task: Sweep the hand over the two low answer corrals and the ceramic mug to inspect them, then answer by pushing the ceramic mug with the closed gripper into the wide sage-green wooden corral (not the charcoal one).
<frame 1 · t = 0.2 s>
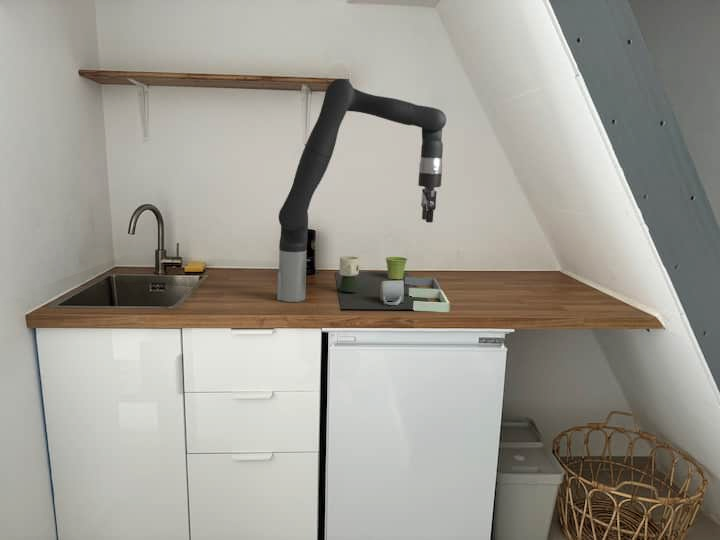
hand: (427, 220, 178), 29 cm above the counter, tool pointing down, fingers open, 8 cm apart
ceramic mug: (392, 303, 184), on the counter
character mug: (348, 292, 196), on the counter
corral charcoal: (421, 290, 204), on the counter
plant pot: (395, 279, 224), on the counter
corral green: (426, 303, 184), on the counter
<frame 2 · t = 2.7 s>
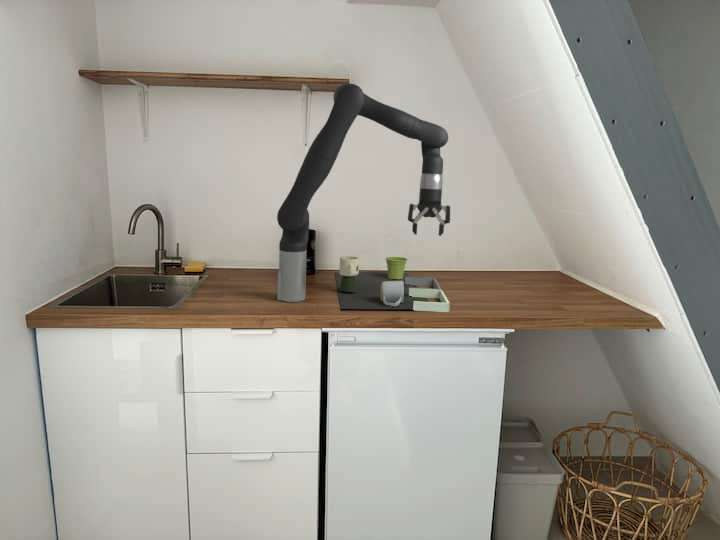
hand: (427, 234, 182), 24 cm above the counter, tool pointing down, fingers open, 8 cm apart
nothing on the counter moved.
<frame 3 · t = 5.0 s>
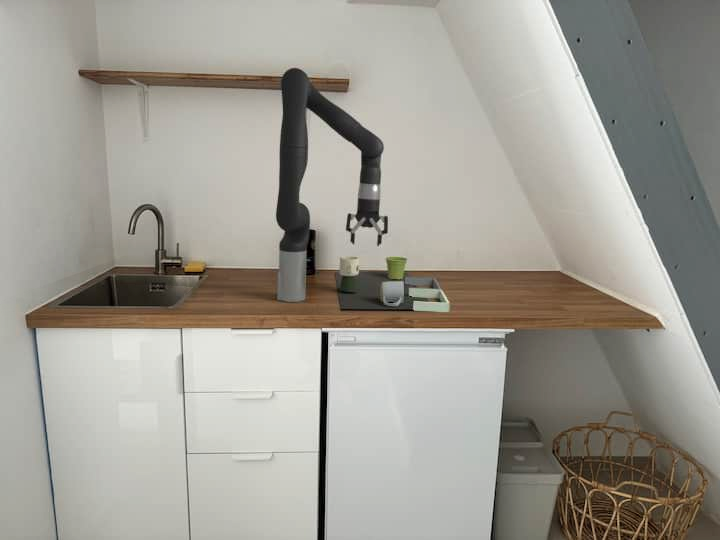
hand: (365, 244, 181), 20 cm above the counter, tool pointing down, fingers open, 8 cm apart
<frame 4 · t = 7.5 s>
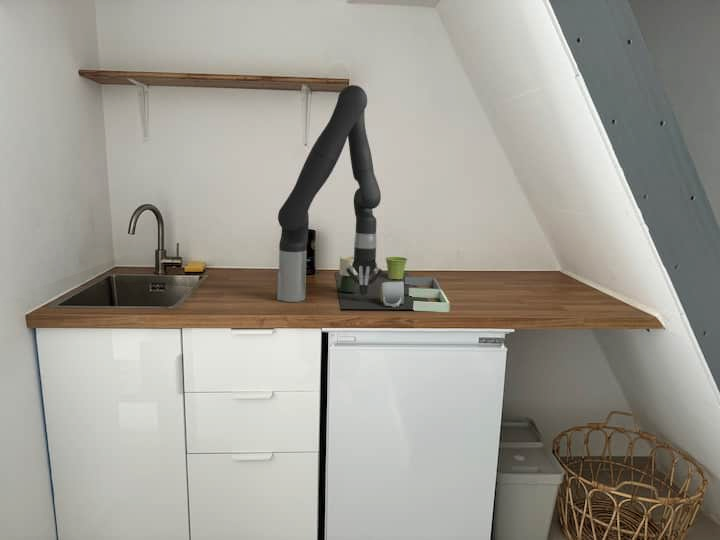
hand: (363, 294, 184), 2 cm above the counter, tool pointing down, fingers closed
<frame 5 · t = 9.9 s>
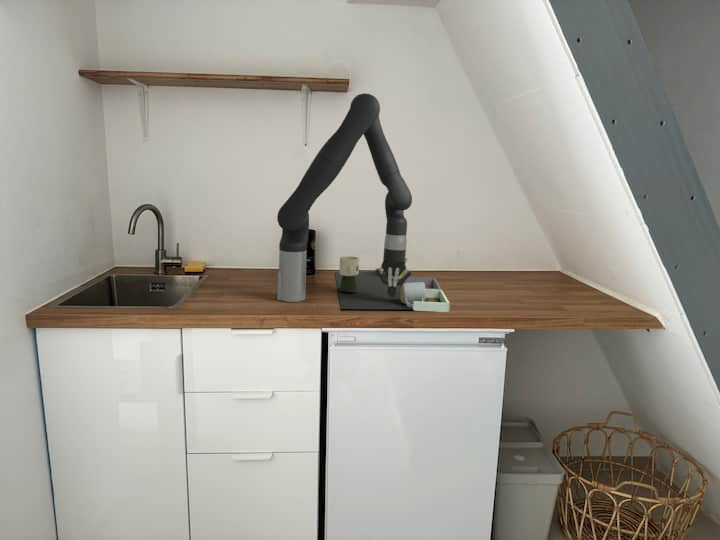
hand: (391, 296, 184), 2 cm above the counter, tool pointing down, fingers closed
ceramic mug: (413, 305, 182), on the counter, touching hand
everything else where it was.
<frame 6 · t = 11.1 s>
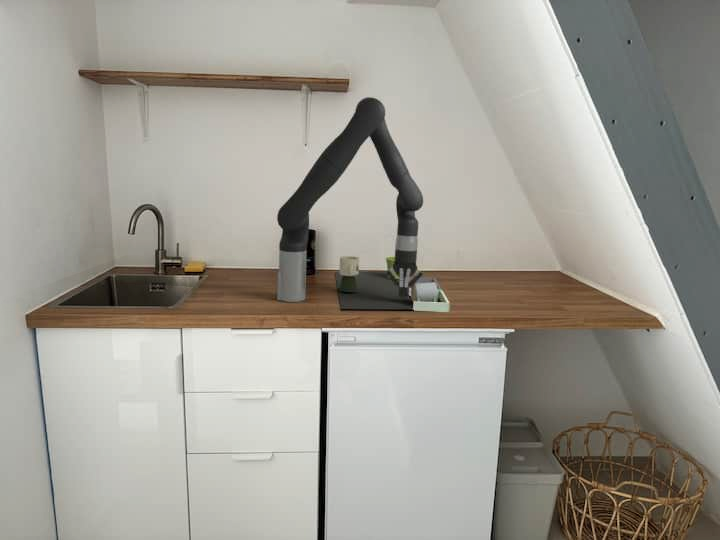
hand: (402, 297, 184), 2 cm above the counter, tool pointing down, fingers closed
ceramic mug: (425, 305, 183), on the counter, touching hand
everything else where it was.
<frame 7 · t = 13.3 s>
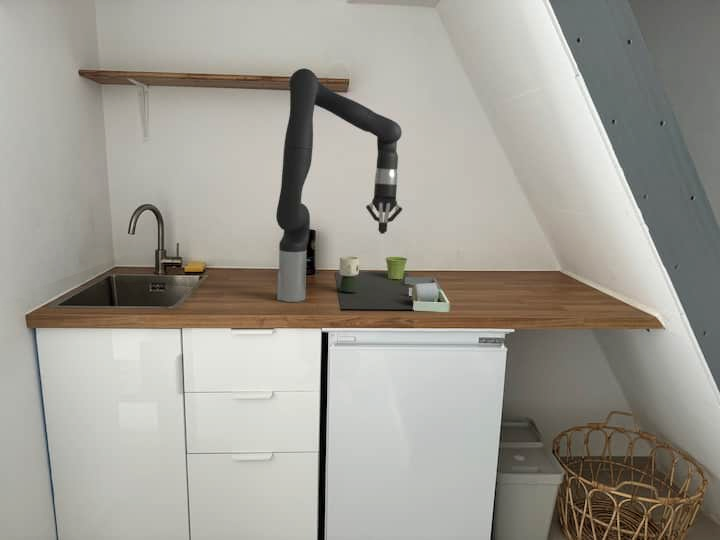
hand: (382, 233, 182), 24 cm above the counter, tool pointing down, fingers closed
ceramic mug: (425, 306, 182), on the counter
everything else where it was.
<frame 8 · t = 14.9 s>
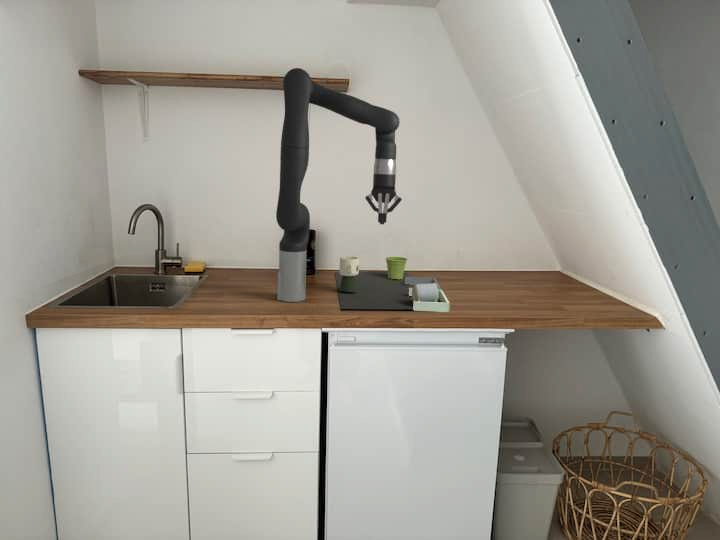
hand: (382, 224, 181), 27 cm above the counter, tool pointing down, fingers closed
nothing on the counter moved.
at the end: ceramic mug inside the target area on the corral green (2.6 cm from its centre), point 0.0 cm above the corral green's base; ceramic mug tilted 0°; ceramic mug touching counter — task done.
